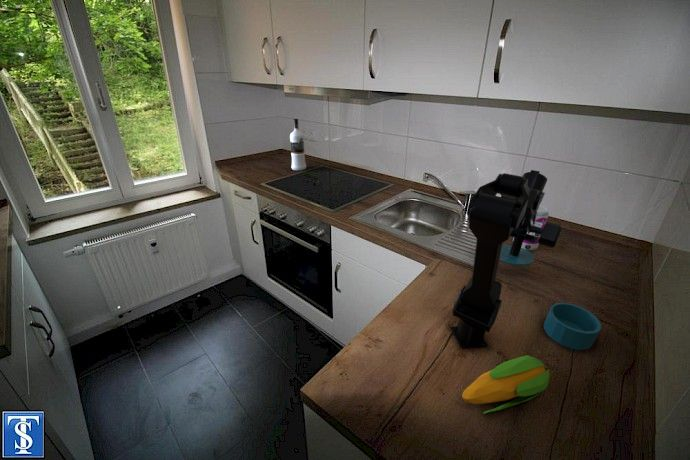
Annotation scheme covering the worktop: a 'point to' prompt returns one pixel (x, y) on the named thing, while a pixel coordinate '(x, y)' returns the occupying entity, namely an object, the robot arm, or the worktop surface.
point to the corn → (509, 383)
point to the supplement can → (542, 218)
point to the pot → (572, 326)
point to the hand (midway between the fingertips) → (520, 237)
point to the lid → (516, 253)
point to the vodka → (297, 148)
